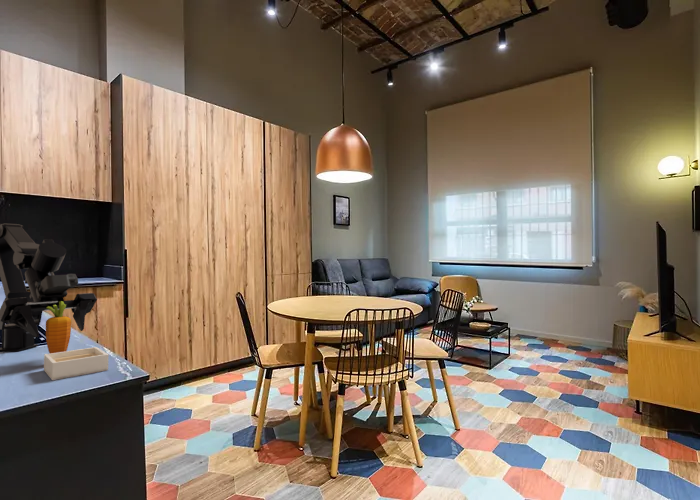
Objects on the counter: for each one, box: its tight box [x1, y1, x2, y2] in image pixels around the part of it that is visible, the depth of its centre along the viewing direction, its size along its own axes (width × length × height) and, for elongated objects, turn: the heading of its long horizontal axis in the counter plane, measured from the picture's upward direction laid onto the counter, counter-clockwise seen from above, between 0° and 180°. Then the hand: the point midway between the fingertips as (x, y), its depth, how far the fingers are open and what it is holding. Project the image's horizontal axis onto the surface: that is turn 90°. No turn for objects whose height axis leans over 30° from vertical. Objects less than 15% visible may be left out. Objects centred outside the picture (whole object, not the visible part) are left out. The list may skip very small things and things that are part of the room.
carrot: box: [45, 301, 72, 354], centre depth 92 cm, size 5×5×15 cm
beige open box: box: [43, 346, 110, 381], centre depth 86 cm, size 10×10×4 cm
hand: (60, 332), depth 91 cm, fingers open, 9 cm apart
